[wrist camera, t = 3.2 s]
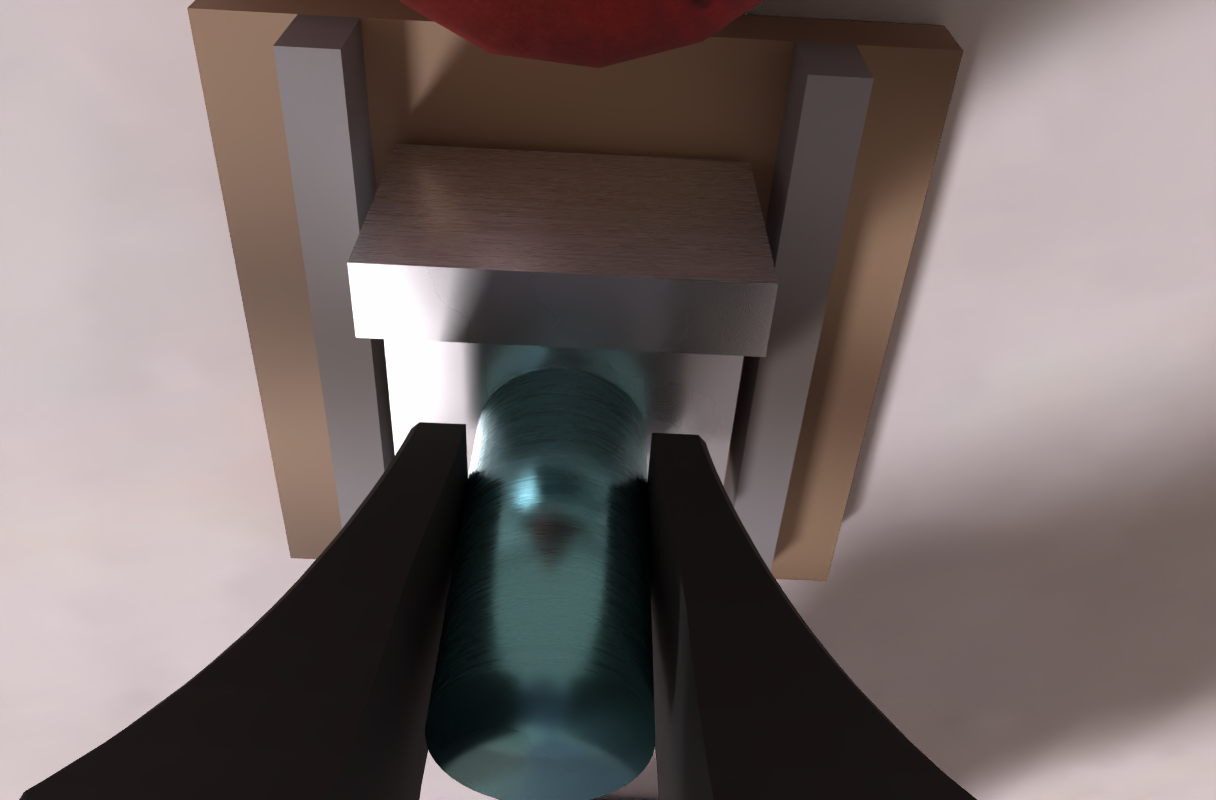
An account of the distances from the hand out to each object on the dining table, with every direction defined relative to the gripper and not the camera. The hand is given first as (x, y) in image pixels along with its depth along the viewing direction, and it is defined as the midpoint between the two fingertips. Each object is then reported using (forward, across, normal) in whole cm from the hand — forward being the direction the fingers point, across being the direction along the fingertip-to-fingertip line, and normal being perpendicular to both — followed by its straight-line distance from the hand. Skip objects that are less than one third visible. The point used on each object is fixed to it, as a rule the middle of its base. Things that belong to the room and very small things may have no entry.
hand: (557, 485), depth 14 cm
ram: (+3, 0, 0) cm, 3 cm away
